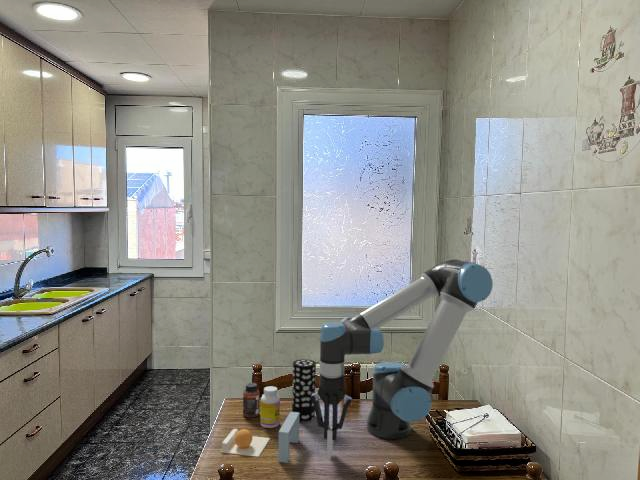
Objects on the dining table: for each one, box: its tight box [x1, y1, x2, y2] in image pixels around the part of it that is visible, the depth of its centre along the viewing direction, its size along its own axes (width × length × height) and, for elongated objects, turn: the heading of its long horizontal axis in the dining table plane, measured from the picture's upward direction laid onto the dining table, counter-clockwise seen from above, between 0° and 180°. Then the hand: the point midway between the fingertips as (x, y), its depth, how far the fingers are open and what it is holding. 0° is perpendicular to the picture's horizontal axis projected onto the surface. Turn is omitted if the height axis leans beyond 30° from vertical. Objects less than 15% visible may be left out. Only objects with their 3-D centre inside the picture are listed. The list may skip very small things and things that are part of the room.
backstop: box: [221, 428, 239, 451], centre depth 151 cm, size 2×10×2 cm, turn 170°
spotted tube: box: [291, 358, 317, 422], centre depth 172 cm, size 8×8×20 cm
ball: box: [235, 428, 253, 448], centre depth 149 cm, size 6×6×6 cm
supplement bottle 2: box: [259, 385, 281, 429], centre depth 165 cm, size 7×7×13 cm
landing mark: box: [220, 435, 271, 458], centre depth 151 cm, size 12×12×1 cm
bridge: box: [277, 411, 300, 463], centre depth 148 cm, size 3×14×9 cm, turn 169°
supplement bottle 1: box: [242, 382, 260, 419], centre depth 173 cm, size 6×6×11 cm
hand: (330, 449), depth 145 cm, fingers closed
